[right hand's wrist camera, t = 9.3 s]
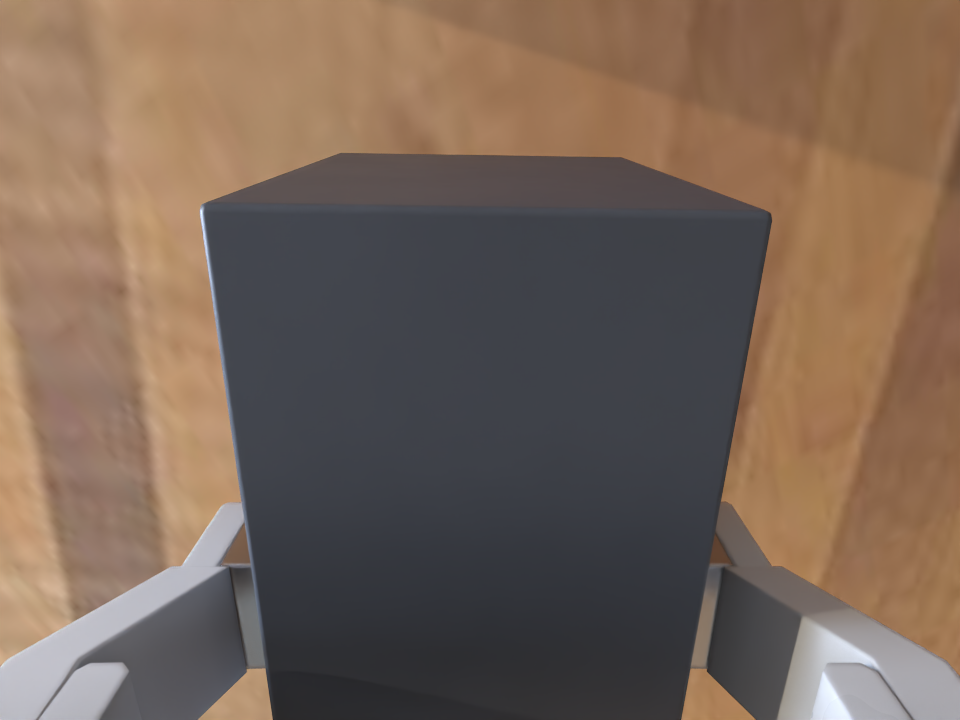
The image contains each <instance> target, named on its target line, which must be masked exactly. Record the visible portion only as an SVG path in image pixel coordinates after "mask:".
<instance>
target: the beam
mask: <svg viewBox="0 0 960 720" xmlns="http://www.w3.org/2000/svg"><path fill="white" fill-rule="evenodd" d="M200 216H201V223H202V230H203V237H204V244H205V251H206V258H207V265H208V272H209V279H210V286H211V293H212V300H213V307H214V314H215V321H216V327H217V334H218V341H219V348H220V355H221V362H222V369H223V376H224V383H225V390H226V397H227V404H228V411H229V418H230V425H231V432H232V439H233V445H234V452H235V459H236V466H237V473H238V480H239V487H240V494H241V501H242V508H243V515H244V522H245V529H246V536H247V543H248V550H249V557H250V563H251V570H252V577H253V584H254V591H255V598H256V605H257V612H258V619H259V626H260V633H261V640H262V647H263V654H264V661H265V668H266V674H267V681H268V688H269V695H270V702H271V709H272V716H273V720H681V717H682V712H683V706H684V701H685V695H686V690H687V684H688V679H689V673H690V668H691V662H692V657H693V651H694V646H695V640H696V635H697V629H698V624H699V618H700V613H701V607H702V602H703V596H704V591H705V585H706V580H707V574H708V569H709V563H710V558H711V552H712V547H713V541H714V536H715V530H716V525H717V519H718V514H719V508H720V503H721V498H722V492H723V487H724V481H725V476H726V470H727V465H728V459H729V454H730V448H731V443H732V437H733V432H734V426H735V421H736V415H737V410H738V404H739V399H740V393H741V388H742V382H743V377H744V371H745V366H746V360H747V355H748V349H749V344H750V338H751V333H752V327H753V322H754V316H755V311H756V305H757V300H758V294H759V289H760V284H761V278H762V273H763V267H764V262H765V256H766V251H767V245H768V240H769V234H770V229H771V223H772V217H771V213H770V212H767V211H765V210H763V209H760V208H757V207H755V206H752V205H749V204H747V203H744V202H741V201H738V200H736V199H733V198H730V197H728V196H725V195H722V194H719V193H717V192H714V191H711V190H708V189H706V188H703V187H700V186H698V185H695V184H692V183H689V182H687V181H684V180H681V179H679V178H676V177H673V176H670V175H668V174H665V173H662V172H660V171H657V170H654V169H651V168H649V167H646V166H643V165H641V164H638V163H635V162H632V161H630V160H627V159H624V158H621V157H560V156H496V155H432V154H368V153H339V154H337V155H334V156H331V157H329V158H326V159H323V160H320V161H318V162H315V163H312V164H309V165H307V166H304V167H301V168H299V169H296V170H293V171H290V172H288V173H285V174H282V175H280V176H277V177H274V178H271V179H269V180H266V181H263V182H261V183H258V184H255V185H252V186H250V187H247V188H244V189H241V190H239V191H236V192H233V193H231V194H228V195H225V196H222V197H220V198H217V199H214V200H212V201H209V202H206V203H204V204H202V205H201V208H200Z"/></svg>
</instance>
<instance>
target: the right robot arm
mask: <svg viewBox="0 0 960 720" xmlns="http://www.w3.org/2000/svg"><path fill="white" fill-rule="evenodd" d="M255 668H265V661H264V654H263V647H262V640H261V633H260V626H259V619H258V612H257V605H256V598H255V591H254V584H253V577H252V570H251V563H250V557H249V550H248V543H247V536H246V529H245V522H244V515H243V508H242V502H228V503H226V504H223V505H222V506H221V507H220V509H219V510H218V512H217V513H216V515H215V516H214V518H213V519H212V521H211V522H210V524H209V525H208V527H207V528H206V530H205V532H204V533H203V535H202V536H201V538H200V539H199V541H198V542H197V544H196V545H195V547H194V548H193V550H192V551H191V553H190V554H189V556H188V557H187V559H186V560H185V562H184V563H183V565H182V566H172V567H170V568H168V569H166V570H164V571H163V572H161V573H159V574H157V575H156V576H154V577H152V578H150V579H149V580H147V581H145V582H143V583H141V584H140V585H138V586H136V587H134V588H133V589H131V590H129V591H127V592H126V593H124V594H122V595H120V596H118V597H117V598H115V599H113V600H111V601H110V602H108V603H106V604H104V605H103V606H101V607H99V608H97V609H96V610H94V611H92V612H90V613H88V614H87V615H85V616H83V617H81V618H80V619H78V620H76V621H74V622H73V623H71V624H69V625H67V626H65V627H64V628H62V629H60V630H58V631H57V632H55V633H53V634H51V635H50V636H48V637H46V638H44V639H42V640H41V641H39V642H37V643H35V644H34V645H32V646H30V647H28V648H27V649H25V650H23V651H21V652H20V653H18V654H16V655H14V656H12V657H11V658H9V659H7V660H6V661H5V662H4V663H3V665H2V666H1V667H0V720H198V719H199V718H200V717H201V716H202V715H203V714H204V713H205V712H206V711H207V710H208V709H209V708H210V707H211V706H212V705H213V704H214V703H215V702H216V701H217V700H218V699H219V698H220V697H221V696H222V695H223V694H224V693H226V692H227V691H228V690H229V689H230V688H231V687H232V686H233V685H234V684H235V683H236V682H237V681H238V680H239V679H240V678H241V677H242V676H243V675H244V674H245V673H246V672H247V670H246V669H255ZM691 668H698V669H707V672H708V673H709V674H710V675H711V676H712V677H713V678H714V679H715V680H716V681H717V682H718V683H719V684H720V685H721V686H722V687H723V688H724V689H725V690H726V691H727V692H728V693H729V694H730V695H732V696H733V697H734V698H735V699H736V700H737V701H738V702H739V703H740V704H741V705H742V706H743V707H744V708H745V709H746V710H747V711H748V712H749V713H750V714H751V715H752V716H753V717H754V718H755V719H756V720H960V676H959V675H958V674H957V673H956V671H955V670H954V669H953V668H952V667H951V666H950V664H949V663H948V662H947V661H946V660H944V659H942V658H941V657H939V656H937V655H935V654H934V653H932V652H930V651H928V650H927V649H925V648H923V647H921V646H920V645H918V644H916V643H914V642H913V641H911V640H909V639H907V638H906V637H904V636H902V635H900V634H899V633H897V632H895V631H894V630H892V629H890V628H888V627H887V626H885V625H883V624H881V623H880V622H878V621H876V620H874V619H873V618H871V617H869V616H867V615H866V614H864V613H862V612H860V611H859V610H857V609H855V608H853V607H852V606H850V605H848V604H846V603H845V602H843V601H841V600H839V599H838V598H836V597H834V596H832V595H831V594H829V593H827V592H825V591H824V590H822V589H820V588H818V587H817V586H815V585H813V584H812V583H810V582H808V581H806V580H805V579H803V578H801V577H799V576H798V575H796V574H794V573H792V572H791V571H789V570H787V569H785V568H784V567H782V566H771V564H770V563H769V561H768V560H767V558H766V557H765V555H764V553H763V552H762V550H761V549H760V547H759V546H758V544H757V543H756V541H755V540H754V538H753V537H752V535H751V534H750V532H749V531H748V529H747V528H746V526H745V525H744V523H743V521H742V520H741V518H740V517H739V515H738V514H737V512H736V511H735V509H734V508H733V506H732V505H731V504H729V503H728V502H721V503H720V508H719V514H718V519H717V525H716V530H715V536H714V541H713V547H712V552H711V558H710V563H709V569H708V574H707V580H706V585H705V591H704V596H703V602H702V607H701V613H700V618H699V624H698V629H697V635H696V640H695V646H694V651H693V657H692V662H691Z"/></svg>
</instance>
